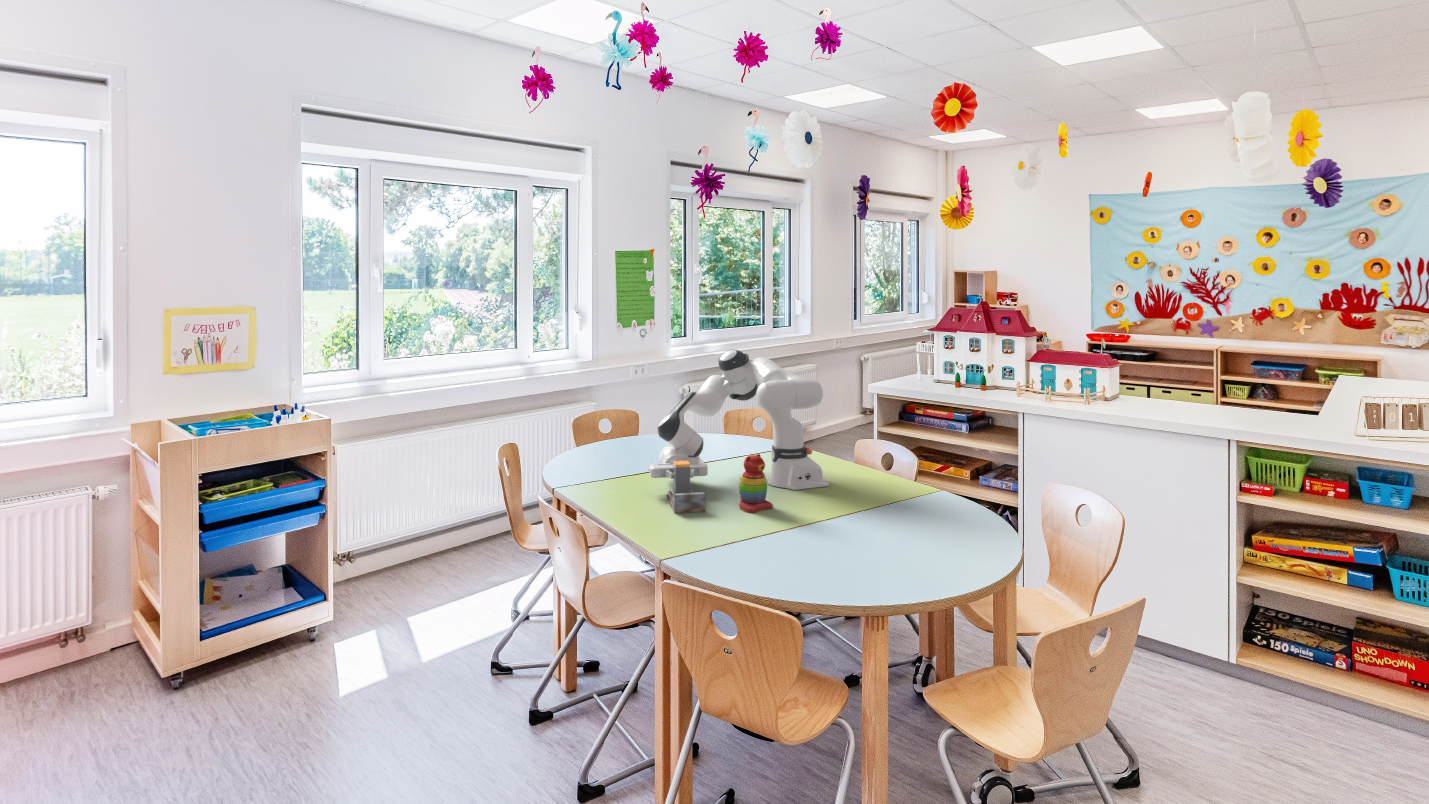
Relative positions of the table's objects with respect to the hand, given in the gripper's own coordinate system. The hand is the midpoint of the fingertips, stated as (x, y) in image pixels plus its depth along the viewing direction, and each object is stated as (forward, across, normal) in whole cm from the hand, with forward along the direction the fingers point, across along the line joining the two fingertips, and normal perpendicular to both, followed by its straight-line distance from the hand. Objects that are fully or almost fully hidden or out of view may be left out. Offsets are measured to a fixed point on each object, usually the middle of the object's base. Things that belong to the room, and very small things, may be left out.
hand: (682, 475), depth 262 cm
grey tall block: (-1, 0, +6) cm, 7 cm away
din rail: (+5, 0, +8) cm, 10 cm away
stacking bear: (+12, +22, +9) cm, 27 cm away
